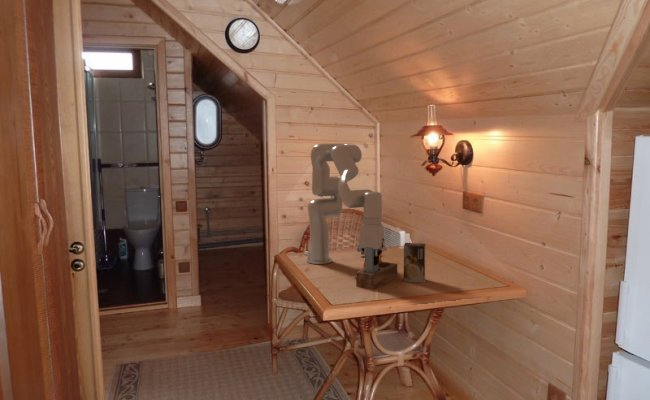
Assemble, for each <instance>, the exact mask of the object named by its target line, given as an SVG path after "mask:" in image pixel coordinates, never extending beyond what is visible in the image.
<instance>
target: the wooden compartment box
mask: <svg viewBox="0 0 650 400" xmlns="http://www.w3.org/2000/svg"><path fill="white" fill-rule="evenodd" d="M382 261H383V260H382ZM382 261H379V263H378V271H377V272H376V273H374V274H371V273H365V271H366V268H364V267H363V269H360V270H358V271H356V273H355V274H356V275H355V280H356V281H355V283H356V284H355V286H356V287H358V288H365V289H369V290H378V289H379V288H381V287H382V286H384V285H386V284H387V283H389V282H391V281H392V280H394V279H396V278H398V263H394V262H387V261H383V262H382Z"/></svg>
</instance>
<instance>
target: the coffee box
mask: <svg viewBox="0 0 650 400" xmlns="http://www.w3.org/2000/svg"><path fill="white" fill-rule="evenodd" d="M403 282H408V283H422V284H424V283H425V282H426V243H421V242H420V243H418V242H417V243H416V242H405V243H404V245H403Z"/></svg>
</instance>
